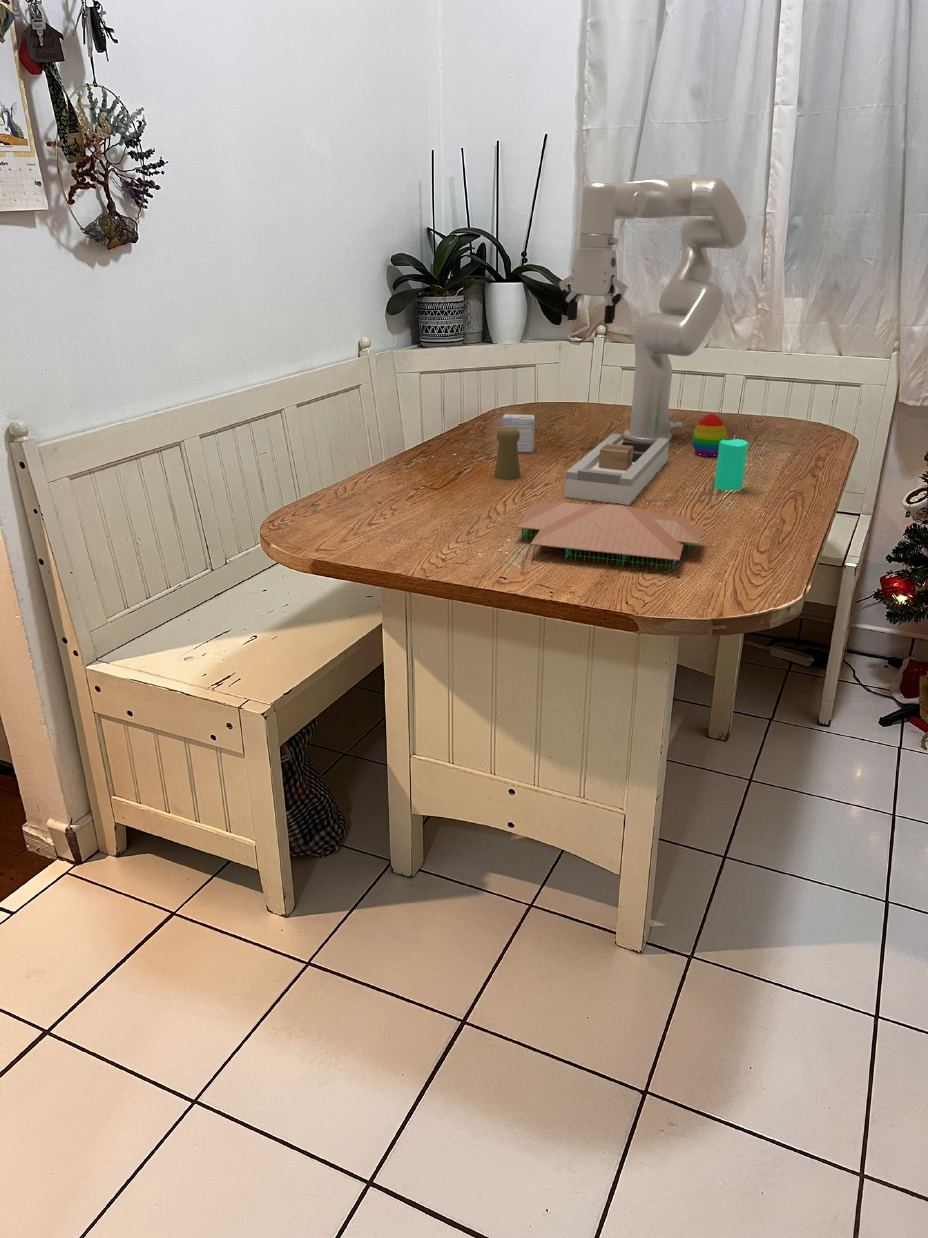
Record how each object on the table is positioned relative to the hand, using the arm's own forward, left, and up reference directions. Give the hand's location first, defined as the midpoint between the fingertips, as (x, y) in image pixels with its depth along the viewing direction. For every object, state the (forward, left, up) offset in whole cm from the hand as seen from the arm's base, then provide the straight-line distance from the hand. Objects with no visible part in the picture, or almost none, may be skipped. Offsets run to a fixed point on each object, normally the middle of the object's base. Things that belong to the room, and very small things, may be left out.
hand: (590, 321), depth 216 cm
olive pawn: (+25, +11, -32) cm, 42 cm away
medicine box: (+13, -9, -32) cm, 36 cm away
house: (+27, +59, -32) cm, 73 cm away
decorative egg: (-30, +11, -32) cm, 45 cm away
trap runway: (+2, +22, -32) cm, 38 cm away
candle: (-16, +38, -32) cm, 52 cm away
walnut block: (+5, +25, -28) cm, 38 cm away
